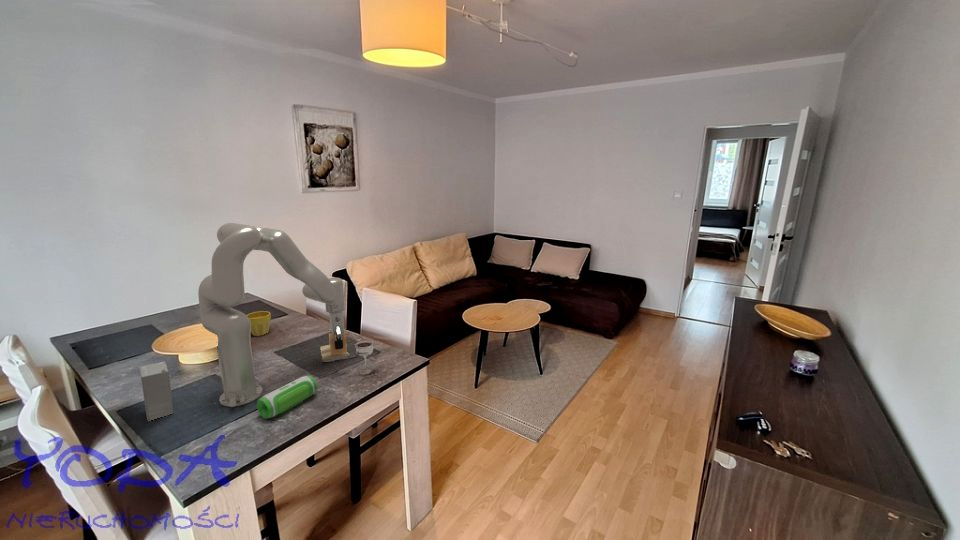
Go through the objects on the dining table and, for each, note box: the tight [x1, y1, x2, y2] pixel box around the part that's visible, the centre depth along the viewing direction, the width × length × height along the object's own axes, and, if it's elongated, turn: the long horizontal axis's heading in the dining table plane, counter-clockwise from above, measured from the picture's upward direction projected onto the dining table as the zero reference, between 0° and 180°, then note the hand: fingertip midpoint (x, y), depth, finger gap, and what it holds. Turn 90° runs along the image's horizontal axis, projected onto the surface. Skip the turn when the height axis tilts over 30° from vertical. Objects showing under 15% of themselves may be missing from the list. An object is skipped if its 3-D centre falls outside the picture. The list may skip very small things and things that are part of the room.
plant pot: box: [245, 310, 272, 337], centre depth 179 cm, size 10×10×10 cm
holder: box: [319, 344, 350, 362], centre depth 161 cm, size 14×14×6 cm
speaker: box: [256, 375, 318, 420], centre depth 124 cm, size 18×7×8 cm, turn 151°
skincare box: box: [139, 360, 174, 422], centre depth 117 cm, size 8×7×16 cm
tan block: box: [328, 332, 347, 354], centre depth 161 cm, size 6×6×7 cm
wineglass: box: [354, 339, 374, 369], centre depth 146 cm, size 7×7×12 cm
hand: (338, 344), depth 161 cm, fingers open, 9 cm apart
